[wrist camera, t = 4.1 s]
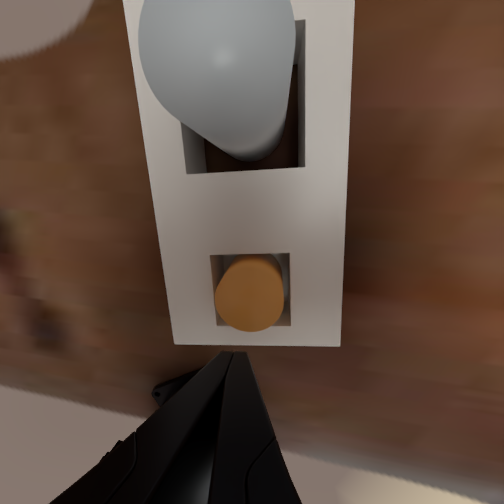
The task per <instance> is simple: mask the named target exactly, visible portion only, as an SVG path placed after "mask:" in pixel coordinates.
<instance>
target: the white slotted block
mask: <svg viewBox="0 0 504 504" xmlns="http://www.w3.org/2000/svg"><path fill="white" fill-rule="evenodd" d="M290 2H291V5H292V9H293V14H294V19H295V31H296V38H295V51H294V59H293V65H295V64H298V168H284V169H268V170H252V171H236V172H219V173H207V168H206V158H205V147H204V137H202V136H201V135H199V134H198V133H197V132H195V131H194V130H192V129H191V128H189V127H188V126H186V125H185V124H183V123H182V122H181V121H179V120H178V119H176V118H175V117H174V116H172V115H171V114H170V113H169V112H168V111H167V110H166V109H165V108H164V107H163V106H162V105H161V103H160V102H159V101H158V100H157V98H156V97H155V95H154V94H153V92H152V90H151V89H150V87H149V84H148V82H147V80H146V78H145V75H144V72H143V69H142V65H141V60H140V56H139V47H138V28H139V19H140V14H141V10H142V6H143V3H144V0H123V4H124V11H125V18H126V24H127V31H128V38H129V44H130V51H131V58H132V65H133V71H134V78H135V85H136V91H137V98H138V105H139V111H140V118H141V125H142V131H143V138H144V145H145V151H146V158H147V165H148V171H149V178H150V185H151V191H152V198H153V205H154V211H155V218H156V225H157V231H158V238H159V245H160V251H161V258H162V265H163V271H164V278H165V285H166V291H167V298H168V305H169V312H170V318H171V325H172V332H173V338H174V344H185V345H263V346H340V337H341V313H342V289H343V266H344V242H345V218H346V195H347V171H348V147H349V124H350V100H351V76H352V53H353V29H354V5H355V0H290ZM265 253H270V254H272V255H273V256H274V257H275V258H276V259H277V261H278V262H279V264H280V266H281V270H282V280H283V294H284V306H283V311H282V313H281V315H280V317H279V319H278V320H277V321H276V322H275V323H274V324H273V325H272V326H270V327H269V328H267V329H264V330H261V331H257V332H245V331H240V330H237V329H235V328H233V327H231V326H230V325H228V324H227V323H226V322H225V321H224V320H223V319H222V318H221V316H220V315H219V313H218V311H217V309H216V305H215V292H216V289H217V286H218V284H219V283H220V281H221V279H222V278H223V276H224V274H225V273H226V271H227V269H228V268H229V266H230V264H231V263H232V261H233V259H234V258H235V257H236V256H237V255H238V254H265Z"/></svg>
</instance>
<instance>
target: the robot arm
mask: <svg viewBox="0 0 504 504" xmlns="http://www.w3.org/2000/svg"><path fill="white" fill-rule="evenodd" d="M158 392H159V393H158ZM152 396H153V397H154V399H155V400H156V402H157V403H158V405H159V406H160V408H159V409H158V410H157V411H156V412H155V413H153V414H152V415H151V416H150V417H149V418H148V419H147V420H146V421H145V422H144V423H143V424H142V425H140V426H139V427H138V428H137V430H136V432H133V433H132V434H130V436H128V437H127V438H126V439H125V440H124V441H120V440H119V441H118V442H117V443H116V445H115V446H114V447H113V449H112V450H111V451H110V452H107V453H106V455H105V456H103V457H102V459H101V460H100V462H99V463H98V464H97V465H96V466H94V467H93V468H92V469H91V470H90V471H88V472H87V473H86V474H85V475H84V476H82V477H81V478H80V479H79V480H78V481H77V482H75V483H74V484H73V485H71V486H70V487H69V488H68V489H66V490H65V491H64V492H63V493H61V494H60V495H59V496H58V497H56V498H55V499H54V500H53V501H51V502H50V503H49V504H302V503H301V500H300V498H299V496H298V493H297V491H296V489H295V487H294V485H293V482H292V480H291V477H290V475H289V472H288V469H287V467H286V465H285V462H284V459H283V456H282V453H281V450H280V447H279V444H278V441H277V440H276V436H275V433H274V430H273V427H272V424H271V421H270V418H269V415H268V412H267V409H266V406H265V403H264V400H263V397H262V394H261V391H260V388H259V385H258V382H257V379H256V377H255V374H254V371H253V368H252V365H251V362H250V359H249V356H248V353H247V352H246V351H235V352H233V351H221V352H220V353H219V354H218V355H216V356H215V357H214V358H213V359H212V360H211V361H210V362H209V363H208V364H207V365H206V366H205V367H203V368H202V369H200V370H197V371H194V372H192V373H189V374H187V375H184V376H181V377H179V378H176V379H173V380H171V381H168V382H166V383H163V384H160V385H158V386H156V387H155V388H154V389H153V391H152Z"/></svg>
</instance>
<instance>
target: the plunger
mask: <svg viewBox="0 0 504 504" xmlns="http://www.w3.org/2000/svg"><path fill="white" fill-rule="evenodd" d="M215 305H216V309H217V311H218V313H219V315H220V316H221V318H222V319H223V320H224V321H225V322H226V323H227V324H228V325H230V326H231V327H233V328H235V329H237V330H240V331H245V332H257V331H261V330H264V329H267V328H269V327H270V326H272V325H273V324H274V323H275V322H276V321H277V320H278V319H279V317H280V315H281V313H282V311H283V306H284V294H283V280H282V270H281V266H280V264H279V262H278V261H277V259H276V258H275V257H274V256H273V255H272V254H270V253H265V254H238V255H237V256H236V257H235V258H234V259H233V261H232V263H231V264H230V266H229V268H228V269H227V271H226V273H225V274H224V276H223V278H222V279H221V281H220V283H219V284H218V286H217V289H216V292H215Z"/></svg>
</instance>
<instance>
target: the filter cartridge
mask: <svg viewBox="0 0 504 504" xmlns="http://www.w3.org/2000/svg"><path fill="white" fill-rule="evenodd" d="M295 38H296V31H295V19H294V14H293V9H292V5H291V2H290V0H144V3H143V6H142V10H141V14H140V19H139V28H138V47H139V56H140V60H141V65H142V69H143V72H144V75H145V78H146V80H147V82H148V84H149V87H150V89H151V90H152V92H153V94H154V95H155V97H156V98H157V100H158V101H159V102H160V103H161V105H162V106H163V107H164V108H165V109H166V110H167V111H168V112H169V113H170V114H171V115H172V116H174V117H175V118H176V119H178V120H179V121H181V122H182V123H183V124H185V125H186V126H188V127H189V128H191V129H192V130H194V131H195V132H197V133H198V134H199V135H201V136H202V137H204V138H205V139H207V140H208V141H210V142H211V143H213V144H214V145H215V146H217V147H218V148H220V149H221V150H223V151H224V152H226V153H227V154H229V155H230V156H231V157H233V158H235V159H237V160H240V161H244V162H254V161H258V160H261V159H264V158H265V157H267V156H269V155H270V154H271V153H272V152H273V151H274V150H275V149H276V148H277V146H278V145H279V143H280V141H281V139H282V136H283V133H284V127H285V120H286V112H287V105H288V97H289V89H290V82H291V74H292V67H293V59H294V51H295Z"/></svg>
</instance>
